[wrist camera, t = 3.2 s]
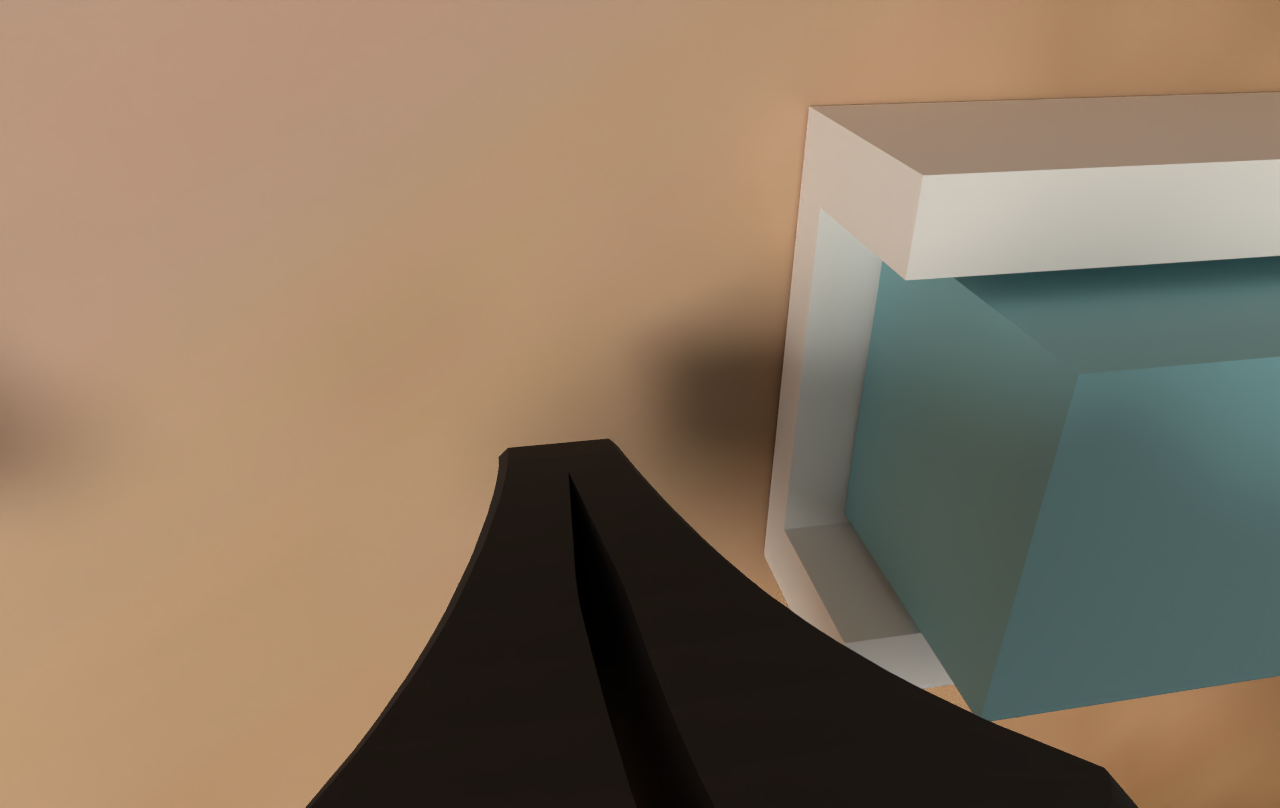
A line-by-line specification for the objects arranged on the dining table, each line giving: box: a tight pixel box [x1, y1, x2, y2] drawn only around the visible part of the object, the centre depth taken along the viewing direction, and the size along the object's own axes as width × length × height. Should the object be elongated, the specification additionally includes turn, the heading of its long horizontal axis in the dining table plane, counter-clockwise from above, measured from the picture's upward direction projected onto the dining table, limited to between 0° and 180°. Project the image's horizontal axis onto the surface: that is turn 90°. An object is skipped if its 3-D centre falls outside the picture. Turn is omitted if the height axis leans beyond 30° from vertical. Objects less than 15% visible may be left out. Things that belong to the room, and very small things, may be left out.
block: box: [844, 256, 1280, 721], centre depth 13 cm, size 6×5×4 cm
